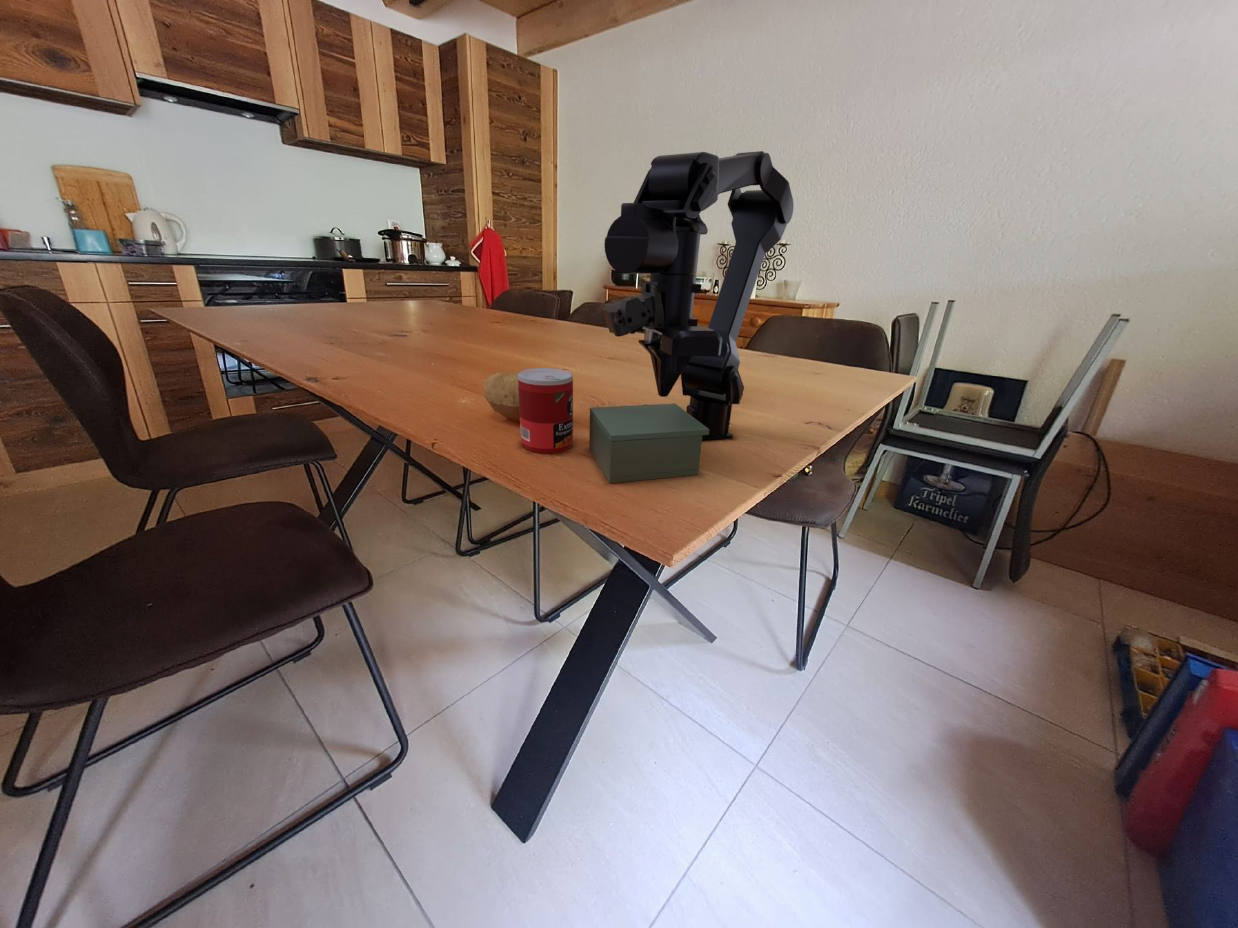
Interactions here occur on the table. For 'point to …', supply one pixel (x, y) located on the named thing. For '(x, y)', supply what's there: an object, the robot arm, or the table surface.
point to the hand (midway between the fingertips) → (662, 396)
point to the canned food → (546, 409)
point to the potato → (503, 394)
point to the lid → (646, 422)
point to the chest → (644, 456)
